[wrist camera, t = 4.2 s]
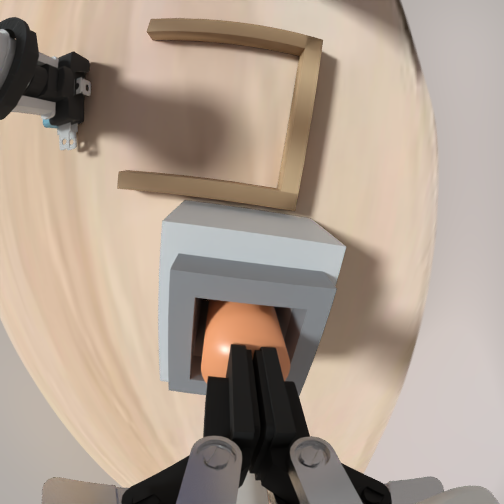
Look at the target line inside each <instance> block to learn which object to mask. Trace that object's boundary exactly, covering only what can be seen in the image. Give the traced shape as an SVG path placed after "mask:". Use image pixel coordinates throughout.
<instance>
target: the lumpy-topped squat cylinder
mask: <svg viewBox="0 0 504 504" xmlns="http://www.w3.org/2000/svg"><path fill="white" fill-rule="evenodd" d="M236 504H269V502H268V495H267V489H266V488H265V487H263V486H262V485H261V480H255V474H250V472H249V471H248V473H247V476H246V478H245V480H244V483H243V485H242V486H241V487H240V488H238V495H237V502H236Z"/></svg>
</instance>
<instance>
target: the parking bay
mask: <svg viewBox="0 0 504 504" xmlns="http://www.w3.org/2000/svg"><path fill="white" fill-rule="evenodd" d="M147 33H148V34H149V36H150V37H151V39H152V40H188V41H206V42H218V43H228V44H236V45H243V46H250V47H257V48H262V49H268V50H273V51H278V52H283V53H288V54H292V55H296V56H299V62H298V68H297V74H296V81H295V87H294V93H293V99H292V105H291V111H290V117H289V123H288V129H287V135H286V140H285V146H284V152H283V158H282V164H281V169H280V175H279V181H278V186H277V188H271V187H265V186H258V185H252V184H245V183H239V182H232V181H224V180H217V179H209V178H201V177H193V176H184V175H175V174H165V173H154V172H142V171H130V170H126V171H120V172H119V174H118V185H117V189H128V190H139V191H149V192H159V193H168V194H177V195H186V196H194V197H202V198H210V199H217V200H225V201H232V202H239V203H246V204H253V205H259V206H266V207H272V208H279V209H285V210H291V211H295V209H296V204H297V198H298V193H299V188H300V182H301V177H302V172H303V166H304V160H305V155H306V149H307V143H308V137H309V131H310V125H311V119H312V113H313V107H314V100H315V94H316V87H317V80H318V73H319V66H320V59H321V52H322V44H323V40H322V39H318V38H315V37H311V36H307V35H303V34H299V33H295V32H291V31H286V30H282V29H277V28H272V27H266V26H260V25H254V24H247V23H240V22H232V21H222V20H209V19H184V18H167V19H151V20H150V23H149V26H148V29H147Z"/></svg>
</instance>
